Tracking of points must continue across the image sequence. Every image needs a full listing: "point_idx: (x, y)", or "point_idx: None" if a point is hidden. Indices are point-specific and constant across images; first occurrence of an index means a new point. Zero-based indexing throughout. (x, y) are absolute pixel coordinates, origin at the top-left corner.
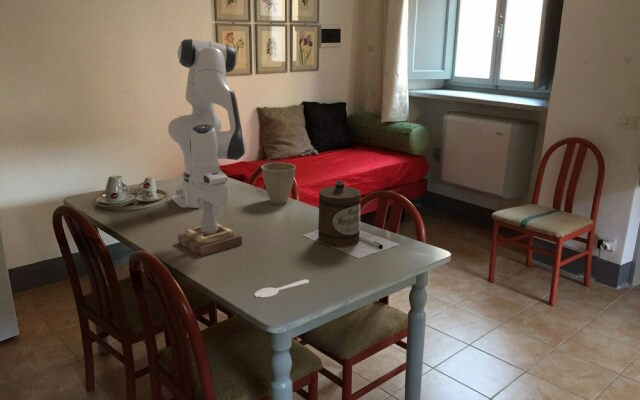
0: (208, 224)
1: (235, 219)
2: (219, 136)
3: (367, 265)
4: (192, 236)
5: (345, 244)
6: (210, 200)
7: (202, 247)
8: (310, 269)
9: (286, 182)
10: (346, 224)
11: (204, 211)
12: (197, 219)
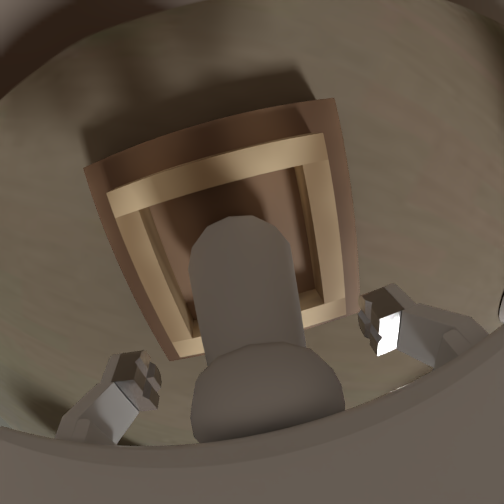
0: (196, 275)
1: (405, 355)
2: None
3: (39, 435)
4: (233, 150)
5: None
6: (54, 469)
7: (86, 176)
8: (11, 383)
9: None
10: None
11: (244, 319)
12: (474, 254)
